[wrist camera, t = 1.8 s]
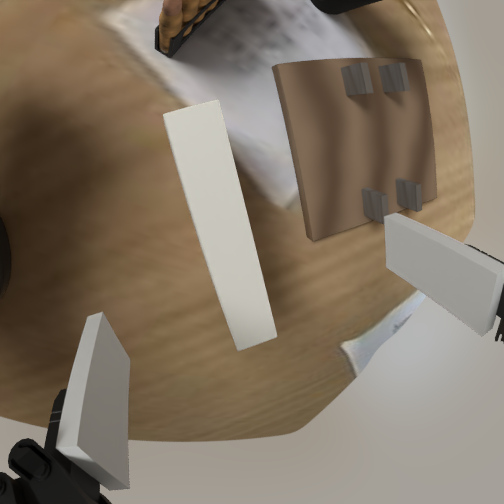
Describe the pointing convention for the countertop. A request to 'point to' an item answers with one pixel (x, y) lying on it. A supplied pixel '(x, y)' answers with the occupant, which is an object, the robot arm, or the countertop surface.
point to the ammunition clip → (181, 22)
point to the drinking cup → (340, 5)
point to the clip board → (357, 139)
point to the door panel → (221, 219)
